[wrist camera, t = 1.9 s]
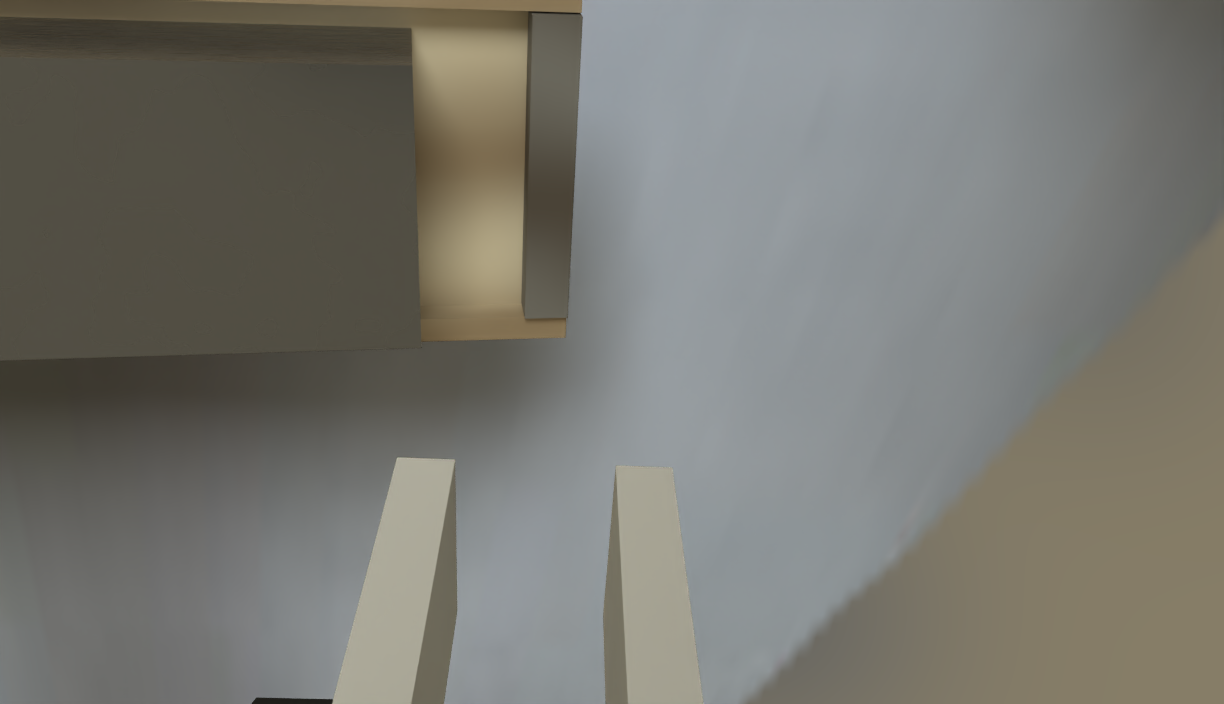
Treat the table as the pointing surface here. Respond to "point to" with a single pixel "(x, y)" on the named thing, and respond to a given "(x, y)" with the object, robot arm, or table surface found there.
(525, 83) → the seesaw beam
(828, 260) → the table surface
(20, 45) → the iron block
